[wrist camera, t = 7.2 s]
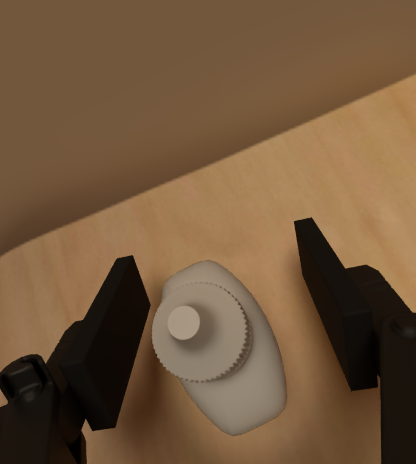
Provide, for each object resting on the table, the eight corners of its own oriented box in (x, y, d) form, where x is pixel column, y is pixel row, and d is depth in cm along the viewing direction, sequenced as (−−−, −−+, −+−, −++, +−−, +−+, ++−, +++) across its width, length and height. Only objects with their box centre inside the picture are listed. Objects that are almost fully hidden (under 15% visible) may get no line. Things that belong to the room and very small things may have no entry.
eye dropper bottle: (284, 297, 19) (289, 198, 8) (285, 416, 17) (293, 497, 6) (203, 295, 20) (108, 201, 9) (195, 407, 18) (61, 465, 7)
